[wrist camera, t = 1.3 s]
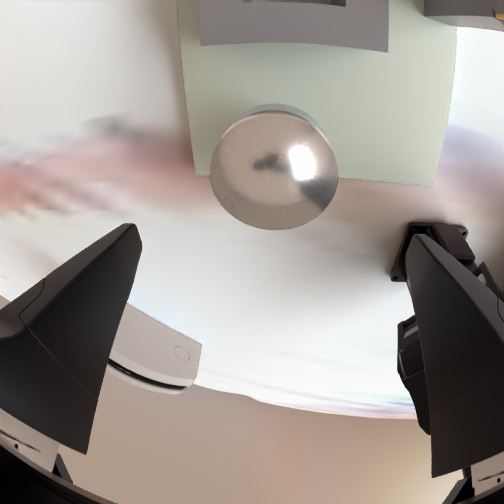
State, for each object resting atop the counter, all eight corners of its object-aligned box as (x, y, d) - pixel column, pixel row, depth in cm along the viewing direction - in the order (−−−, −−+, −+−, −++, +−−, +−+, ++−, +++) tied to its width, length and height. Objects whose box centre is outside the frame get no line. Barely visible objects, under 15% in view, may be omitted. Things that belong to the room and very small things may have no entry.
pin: (318, 173, 18) (330, 232, 14) (235, 171, 19) (216, 228, 14) (322, 92, 15) (343, 119, 10) (229, 91, 15) (202, 117, 11)
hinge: (80, 296, 33) (52, 349, 24) (93, 271, 31) (62, 323, 22) (185, 355, 39) (183, 413, 30) (203, 336, 38) (204, 395, 29)
